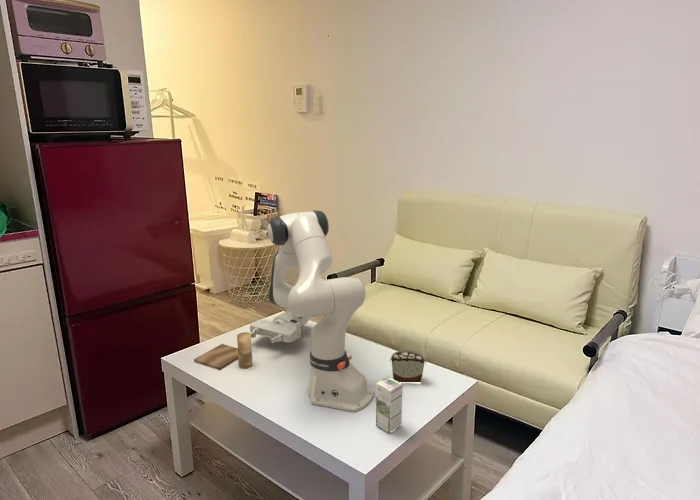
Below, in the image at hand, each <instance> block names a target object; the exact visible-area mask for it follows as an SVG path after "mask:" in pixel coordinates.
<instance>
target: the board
mask: <svg viewBox="0 0 700 500" xmlns="http://www.w3.org/2000/svg"><path fill="white" fill-rule="evenodd" d="M236 361H238V347H234V346H231V345H227V344H224V343H220V344H219V345H217V346H215V347H213V348H212V349H210V350H208V351H206V352H204V353H202V354H201V355H199V356H197V357H195V358H193V362H195V363H197V364H200V365H203V366H205V367H209V368H212V369H214V370H219V371H222V370H223V369H225V368H226V367H227V366H229V365H230V364H233V363H234V362H236Z"/></svg>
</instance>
